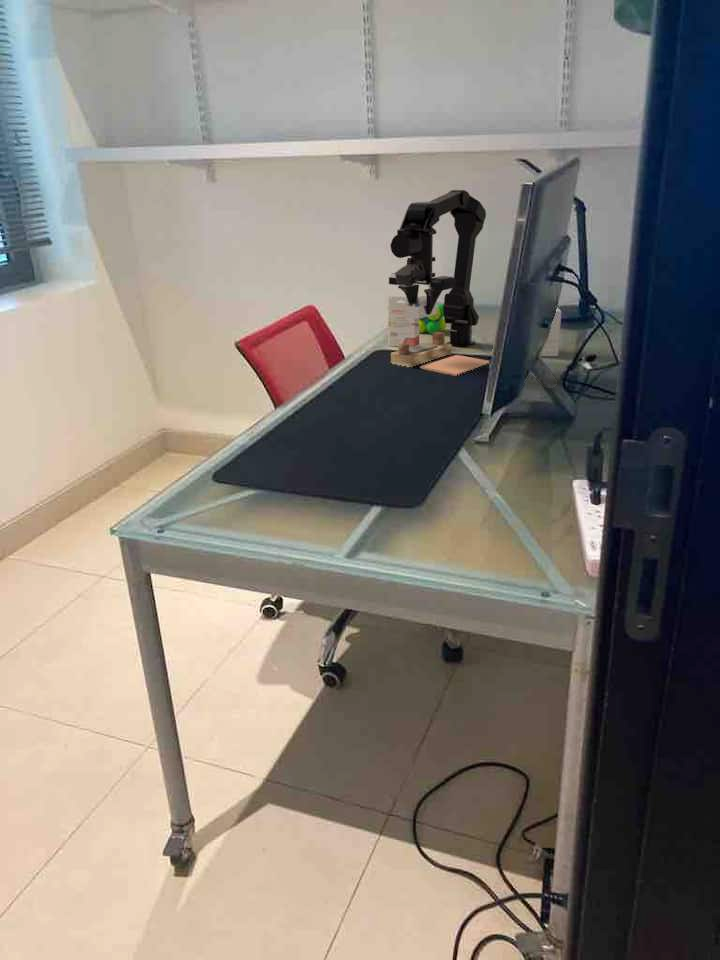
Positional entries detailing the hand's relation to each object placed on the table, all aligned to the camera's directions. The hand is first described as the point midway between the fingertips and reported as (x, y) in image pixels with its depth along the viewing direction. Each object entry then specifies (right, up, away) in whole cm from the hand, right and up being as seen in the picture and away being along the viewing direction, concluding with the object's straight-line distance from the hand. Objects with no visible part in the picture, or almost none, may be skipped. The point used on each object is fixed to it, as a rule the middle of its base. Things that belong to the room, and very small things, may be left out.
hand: (421, 313), depth 206 cm
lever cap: (0, 0, 0) cm, 0 cm away
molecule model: (+6, +2, +38) cm, 39 cm away
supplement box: (+35, -10, +9) cm, 38 cm away
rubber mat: (+9, -15, -2) cm, 17 cm away
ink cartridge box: (-3, -5, +22) cm, 23 cm away
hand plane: (+1, -11, +6) cm, 13 cm away
